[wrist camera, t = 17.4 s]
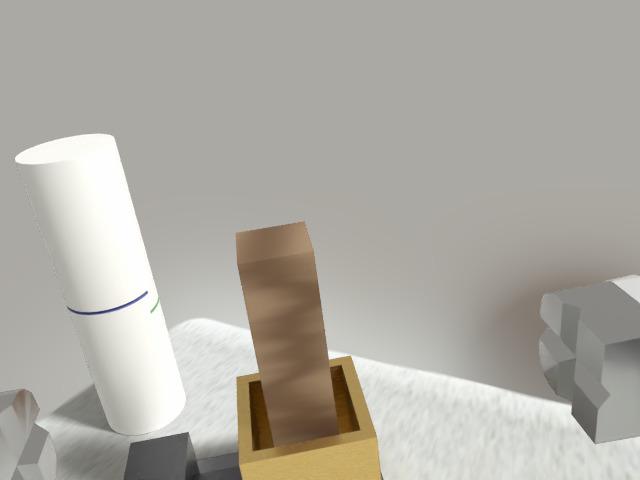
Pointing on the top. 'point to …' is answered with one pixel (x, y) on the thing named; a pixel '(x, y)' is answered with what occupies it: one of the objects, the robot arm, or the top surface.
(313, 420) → the rail post
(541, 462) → the top surface
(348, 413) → the cup bracket
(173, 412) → the cylindrical container
